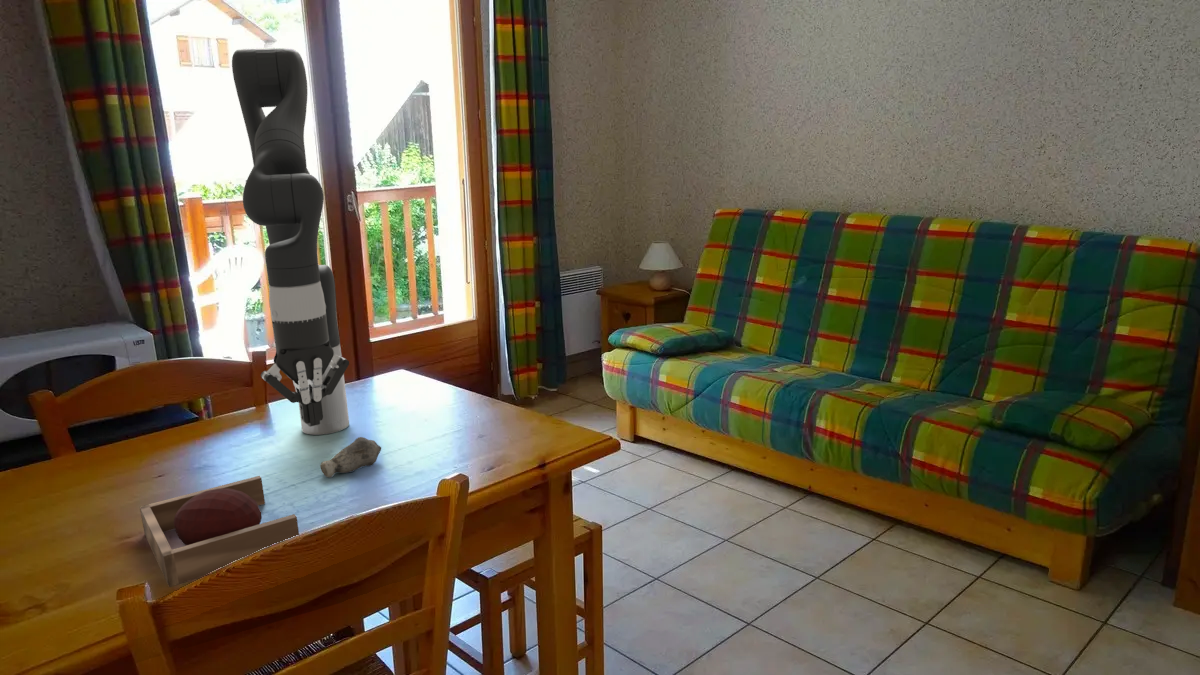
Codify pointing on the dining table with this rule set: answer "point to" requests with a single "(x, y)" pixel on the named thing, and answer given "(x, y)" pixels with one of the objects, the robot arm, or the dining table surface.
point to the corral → (216, 550)
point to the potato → (215, 515)
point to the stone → (352, 457)
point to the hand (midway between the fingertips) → (312, 424)
